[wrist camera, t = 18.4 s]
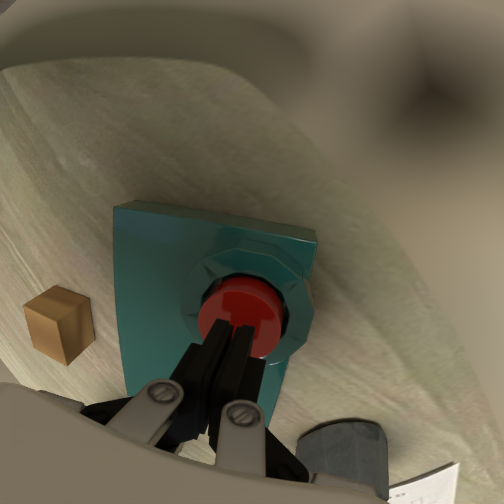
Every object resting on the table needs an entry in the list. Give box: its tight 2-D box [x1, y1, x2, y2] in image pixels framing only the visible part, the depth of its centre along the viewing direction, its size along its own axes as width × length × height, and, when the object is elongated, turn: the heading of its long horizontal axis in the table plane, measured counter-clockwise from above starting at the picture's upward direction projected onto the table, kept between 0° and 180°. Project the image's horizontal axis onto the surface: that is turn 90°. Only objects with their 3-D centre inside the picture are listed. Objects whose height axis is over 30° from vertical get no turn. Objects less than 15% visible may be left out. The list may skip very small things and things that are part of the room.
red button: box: [198, 276, 283, 359], centre depth 14 cm, size 4×4×2 cm
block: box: [23, 286, 95, 366], centre depth 21 cm, size 4×4×4 cm
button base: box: [113, 200, 318, 429], centre depth 19 cm, size 16×12×4 cm
